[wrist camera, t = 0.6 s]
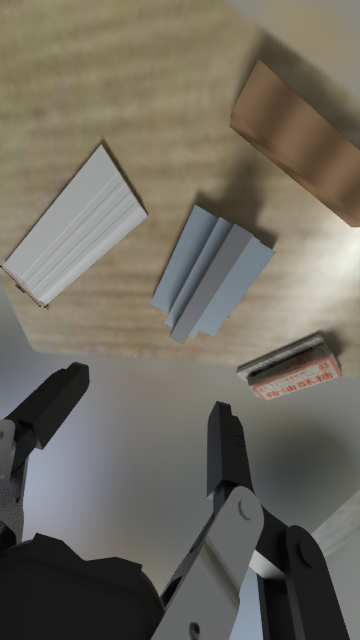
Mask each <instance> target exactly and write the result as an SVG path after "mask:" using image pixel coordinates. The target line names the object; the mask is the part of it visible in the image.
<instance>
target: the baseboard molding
mask: <svg viewBox="0 0 360 640" xmlns="http://www.w3.org/2000/svg"><path fill="white" fill-rule="evenodd" d="M147 216H148V215H147V213H146V212H145V210H144V209H143V207H142V205H141V204H140V202H139V201H138V199H137V198H136V196H135V194H134V193H133V191H132V190H131V188H130V186H129V185H128V183H127V182H126V180H125V179H124V177H123V175H122V174H121V172H120V171H119V169H118V168H117V166H116V164H115V163H114V161H113V160H112V158H111V156H110V155H109V153H108V152H107V150H106V149H105V147H104V146H103V145H100V146H99V147H98V149H97V150H96V151H95V152H94V154H93V155H92V156H91V157H90V159H89V160H88V161H87V162H86V164H85V165H84V166H83V167H82V168H81V170H80V171H79V172H78V173H77V175H76V176H75V177H74V178H73V180H72V181H71V182H70V183H69V184H68V186H67V187H66V188H65V189H64V191H63V192H62V193H61V194H60V196H59V197H58V198H57V199H56V201H55V202H54V203H53V204H52V205H51V207H50V208H49V209H48V210H47V212H46V213H45V214H44V215H43V217H42V218H41V219H40V220H39V222H38V223H37V224H36V225H35V226H34V228H33V229H32V230H31V231H30V233H29V234H28V235H27V236H26V238H25V239H24V240H23V241H22V243H21V244H20V245H19V246H18V247H17V249H16V250H15V251H14V252H13V254H12V255H11V256H10V257H9V259H8V260H7V261H6V262H5V264H4V266H5V267H6V268H7V269H8V270H9V271H10V272H11V273H12V274H13V275H14V276H15V277H16V278H17V279H18V280H19V281H20V282H21V283H22V284H23V285H24V286H25V287H26V288H27V289H28V290H29V291H30V292H31V293H32V294H33V295H34V296H35V298H36V299H37V300H40V301H42V302H44V304H45V305H46V304H48V303H49V302H50V301H51V300H52V299H53V298H54V297H56V296H57V295H58V294H59V293H60V292H61V291H62V290H64V289H65V288H66V287H67V286H68V285H69V284H70V283H72V282H73V281H74V280H75V279H76V278H77V277H79V276H80V275H81V274H82V273H83V272H84V271H85V270H87V269H88V268H89V267H90V266H91V265H92V264H93V263H95V262H96V261H97V260H98V259H99V258H100V257H102V256H103V255H104V254H105V253H106V252H107V251H108V250H110V249H111V248H112V247H113V246H114V245H115V244H116V243H118V242H119V241H120V240H121V239H122V238H123V237H124V236H126V235H127V234H128V233H129V232H130V231H131V230H133V229H134V228H135V227H136V226H137V225H138V224H139V223H141V222H142V221H143V220H144V219H145V218H146V217H147ZM0 267H1V268H2V266H0ZM2 269H3V268H2ZM3 270H4V269H3ZM4 271H5V270H4ZM5 272H6V271H5ZM6 273H7V272H6ZM7 274H8V273H7ZM8 275H9V274H8ZM9 276H10V275H9ZM10 277H11V276H10ZM11 278H12V277H11ZM12 279H13V278H12ZM13 280H14V279H13ZM14 281H15V280H14ZM15 282H16V281H15ZM16 283H17V282H16ZM17 284H18V283H17ZM18 285H19V284H18ZM18 285H15V286H16V287H17V286H18ZM19 286H20V285H19ZM19 286H18V289H20V287H21V286H20V287H19ZM21 288H22V287H21ZM22 289H23V288H22ZM22 289H20V290H21V291H22V292H23V290H24V289H23V290H22ZM24 291H25V290H24ZM25 292H26V291H25ZM25 292H23V293H25ZM26 293H27V292H26ZM27 294H28V293H27ZM28 295H29V294H28ZM29 296H30V295H29ZM30 297H31V296H30ZM31 298H32V297H31ZM32 299H33V298H32ZM33 300H34V299H33ZM34 301H35V300H34ZM35 302H36V301H35ZM36 303H37V302H36ZM37 304H38V303H37ZM39 307H41V305H40V306H39ZM46 307H48V305H47V306H44V308H46ZM47 309H48V310H49V308H47Z"/></svg>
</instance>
